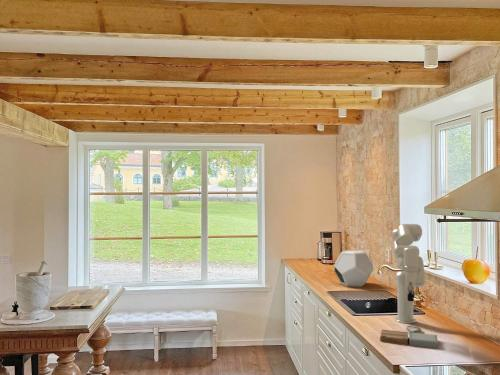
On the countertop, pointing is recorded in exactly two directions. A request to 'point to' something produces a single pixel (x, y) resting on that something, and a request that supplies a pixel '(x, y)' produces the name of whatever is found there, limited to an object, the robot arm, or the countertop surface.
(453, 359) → the countertop surface
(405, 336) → the walnut stand
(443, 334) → the countertop surface
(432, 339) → the slate stand
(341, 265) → the dodecahedron
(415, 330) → the stone
